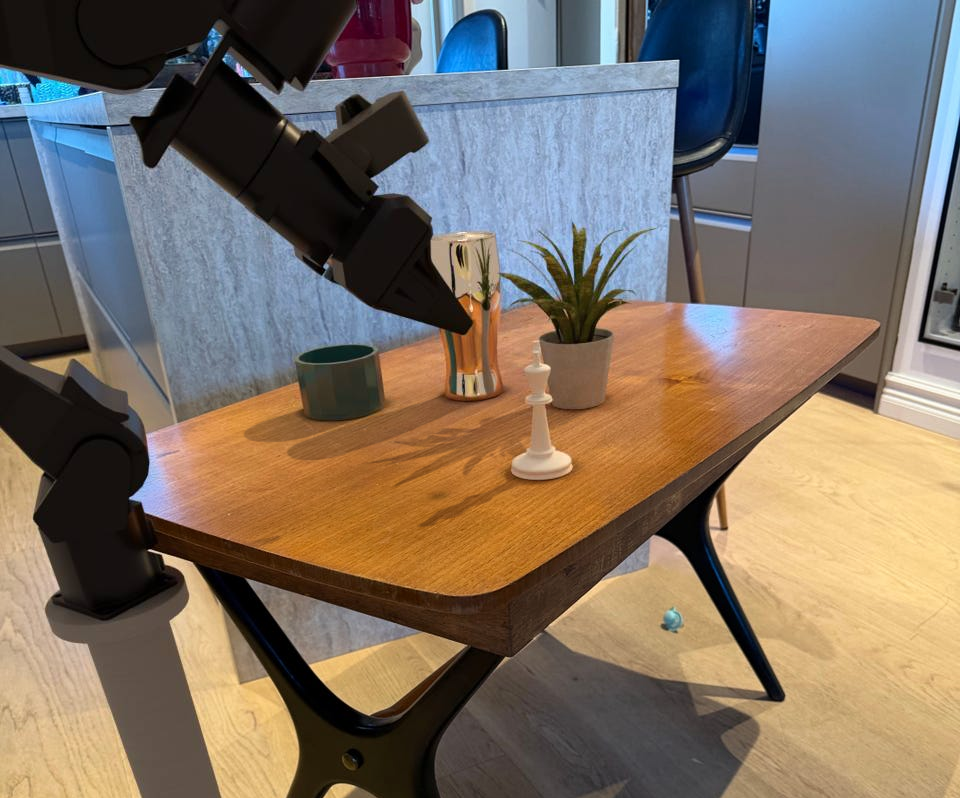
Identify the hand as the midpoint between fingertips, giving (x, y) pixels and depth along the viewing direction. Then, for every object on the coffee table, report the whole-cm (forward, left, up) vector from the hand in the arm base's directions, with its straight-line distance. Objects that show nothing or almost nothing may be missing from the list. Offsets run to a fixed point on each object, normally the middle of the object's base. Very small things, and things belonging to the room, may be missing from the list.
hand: (447, 318), depth 64 cm
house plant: (+24, +2, -13) cm, 28 cm away
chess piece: (+5, -4, -13) cm, 14 cm away
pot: (+13, +24, -13) cm, 30 cm away
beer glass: (+22, +14, -13) cm, 29 cm away
